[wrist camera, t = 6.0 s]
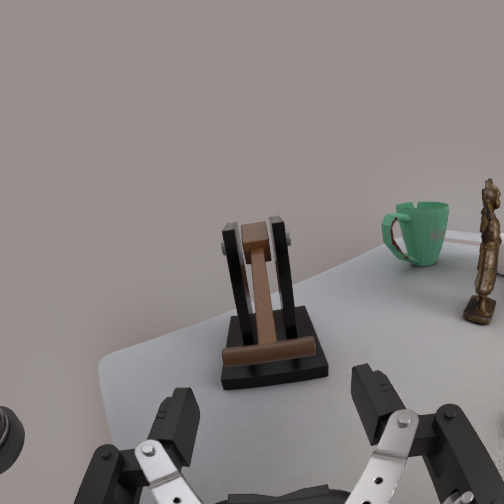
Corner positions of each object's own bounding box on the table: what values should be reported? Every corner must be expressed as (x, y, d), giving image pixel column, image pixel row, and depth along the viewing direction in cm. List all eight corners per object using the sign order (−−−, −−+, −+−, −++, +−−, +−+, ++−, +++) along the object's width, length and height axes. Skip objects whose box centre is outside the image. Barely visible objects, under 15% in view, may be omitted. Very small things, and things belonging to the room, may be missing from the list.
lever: (315, 362, 16) (317, 343, 14) (228, 374, 16) (219, 356, 15) (285, 239, 26) (283, 218, 24) (228, 248, 26) (222, 227, 25)
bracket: (328, 376, 21) (319, 224, 18) (223, 390, 21) (186, 245, 18) (305, 314, 32) (293, 209, 29) (232, 325, 33) (212, 221, 30)
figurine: (486, 334, 18) (500, 180, 15) (456, 326, 22) (464, 179, 18) (496, 304, 22) (503, 178, 19) (471, 299, 25) (475, 177, 22)
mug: (420, 250, 47) (418, 200, 44) (458, 261, 38) (458, 204, 35) (367, 268, 43) (363, 210, 41) (407, 284, 34) (406, 215, 32)
